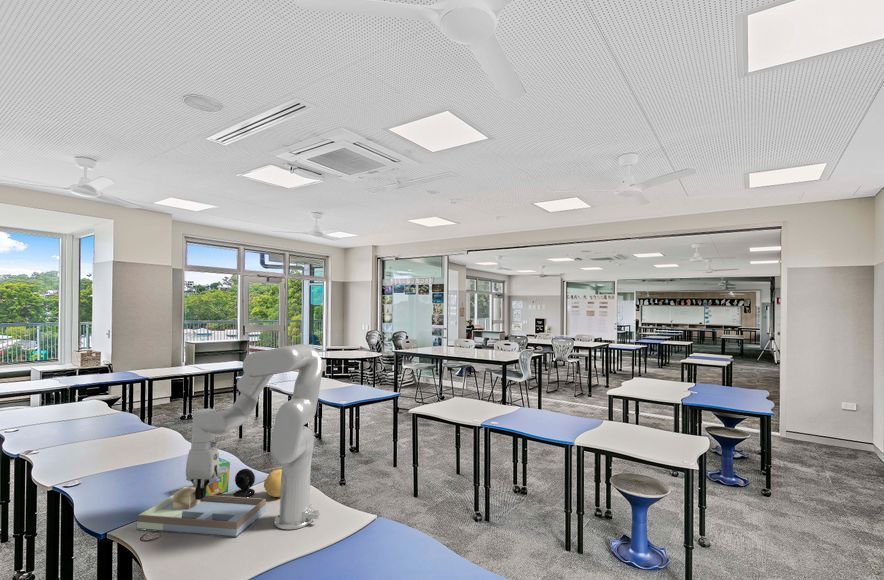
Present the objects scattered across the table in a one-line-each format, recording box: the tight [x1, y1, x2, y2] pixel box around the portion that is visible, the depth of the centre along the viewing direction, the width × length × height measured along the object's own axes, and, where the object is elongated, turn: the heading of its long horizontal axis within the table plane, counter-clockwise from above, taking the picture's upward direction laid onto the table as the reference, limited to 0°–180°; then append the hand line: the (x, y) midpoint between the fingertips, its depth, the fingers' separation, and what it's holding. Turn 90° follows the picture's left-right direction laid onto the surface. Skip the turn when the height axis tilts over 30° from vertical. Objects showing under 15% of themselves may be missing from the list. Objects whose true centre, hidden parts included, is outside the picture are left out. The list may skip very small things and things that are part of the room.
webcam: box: [233, 468, 256, 498], centre depth 167 cm, size 8×8×10 cm
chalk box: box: [206, 452, 231, 496], centre depth 170 cm, size 9×9×15 cm
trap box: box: [136, 494, 267, 539], centre depth 146 cm, size 34×18×4 cm, turn 84°
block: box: [172, 486, 200, 509], centre depth 152 cm, size 6×6×5 cm
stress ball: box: [263, 468, 282, 498], centre depth 167 cm, size 10×10×10 cm
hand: (200, 498), depth 151 cm, fingers closed
